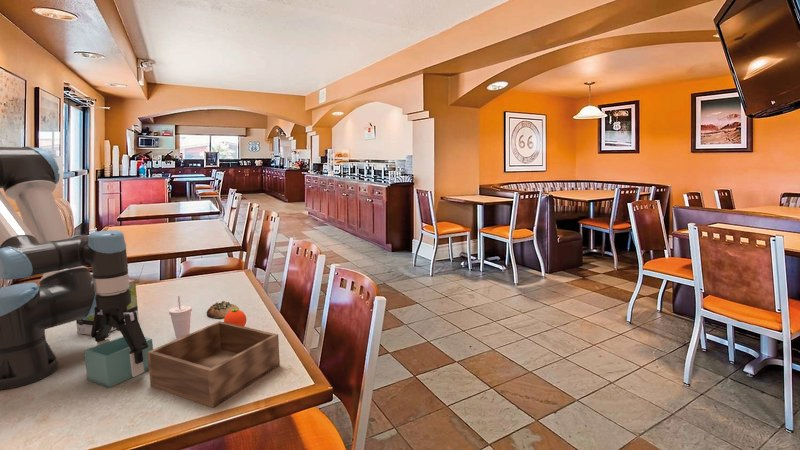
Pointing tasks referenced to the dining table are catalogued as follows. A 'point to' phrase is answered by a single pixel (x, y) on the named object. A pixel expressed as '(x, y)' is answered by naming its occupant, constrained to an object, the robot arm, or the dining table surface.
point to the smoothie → (181, 319)
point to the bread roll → (220, 309)
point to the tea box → (86, 324)
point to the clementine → (235, 318)
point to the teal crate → (112, 362)
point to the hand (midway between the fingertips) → (121, 368)
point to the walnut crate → (213, 362)
